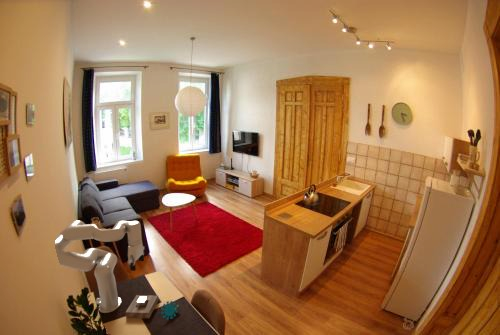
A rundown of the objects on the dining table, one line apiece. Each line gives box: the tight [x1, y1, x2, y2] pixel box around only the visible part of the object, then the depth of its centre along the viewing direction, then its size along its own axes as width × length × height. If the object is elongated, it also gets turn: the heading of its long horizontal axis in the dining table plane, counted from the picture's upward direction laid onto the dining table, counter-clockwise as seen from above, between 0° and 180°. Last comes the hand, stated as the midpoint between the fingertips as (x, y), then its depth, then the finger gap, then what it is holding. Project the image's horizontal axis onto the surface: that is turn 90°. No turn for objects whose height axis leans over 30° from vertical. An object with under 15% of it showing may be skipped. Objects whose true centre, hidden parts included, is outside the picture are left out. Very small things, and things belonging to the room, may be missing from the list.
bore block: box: [125, 294, 159, 319], centre depth 158 cm, size 14×14×4 cm
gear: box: [160, 300, 180, 320], centre depth 154 cm, size 11×6×10 cm
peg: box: [137, 297, 147, 308], centre depth 157 cm, size 4×4×7 cm
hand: (137, 265), depth 158 cm, fingers open, 9 cm apart
